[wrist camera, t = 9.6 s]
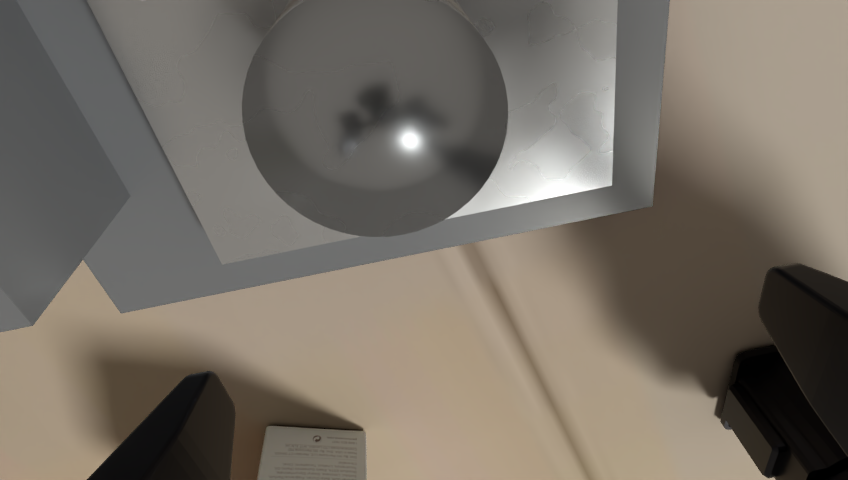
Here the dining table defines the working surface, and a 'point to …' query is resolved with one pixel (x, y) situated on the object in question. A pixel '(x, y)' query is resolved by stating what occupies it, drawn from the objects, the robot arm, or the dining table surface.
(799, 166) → the dining table surface
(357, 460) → the small box
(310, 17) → the cylinder
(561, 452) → the dining table surface
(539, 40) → the pan
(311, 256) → the scale
